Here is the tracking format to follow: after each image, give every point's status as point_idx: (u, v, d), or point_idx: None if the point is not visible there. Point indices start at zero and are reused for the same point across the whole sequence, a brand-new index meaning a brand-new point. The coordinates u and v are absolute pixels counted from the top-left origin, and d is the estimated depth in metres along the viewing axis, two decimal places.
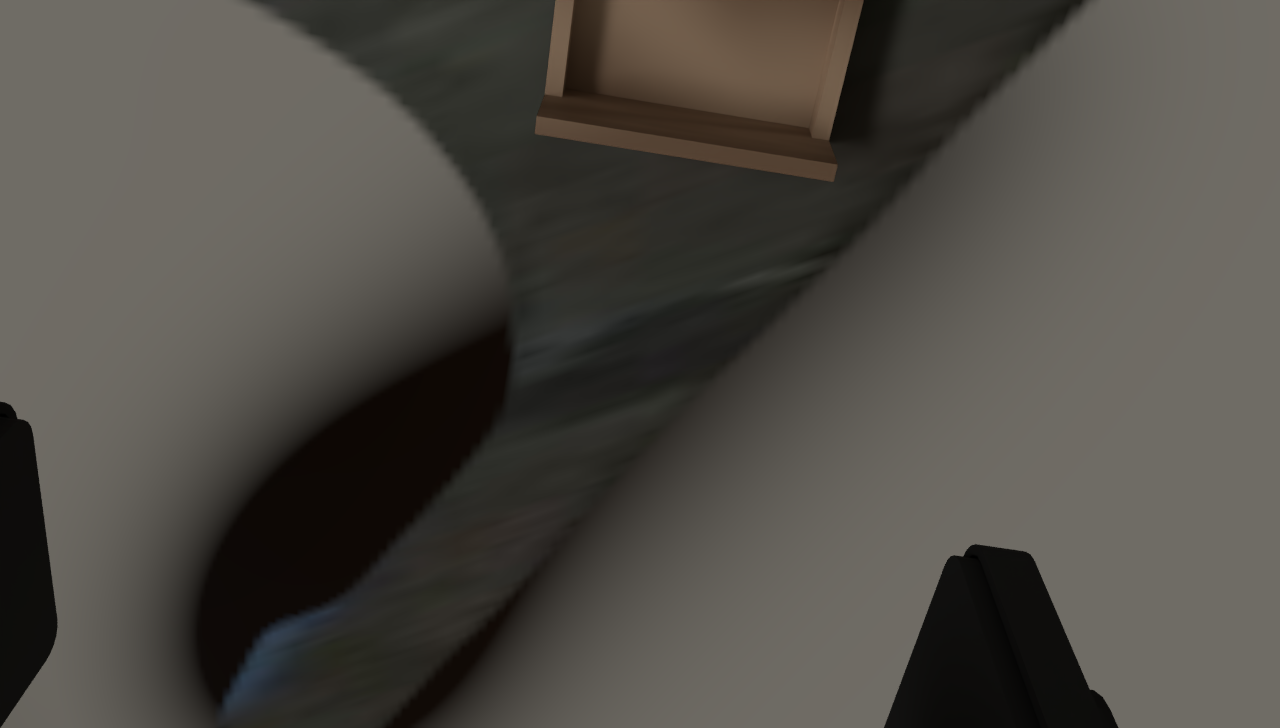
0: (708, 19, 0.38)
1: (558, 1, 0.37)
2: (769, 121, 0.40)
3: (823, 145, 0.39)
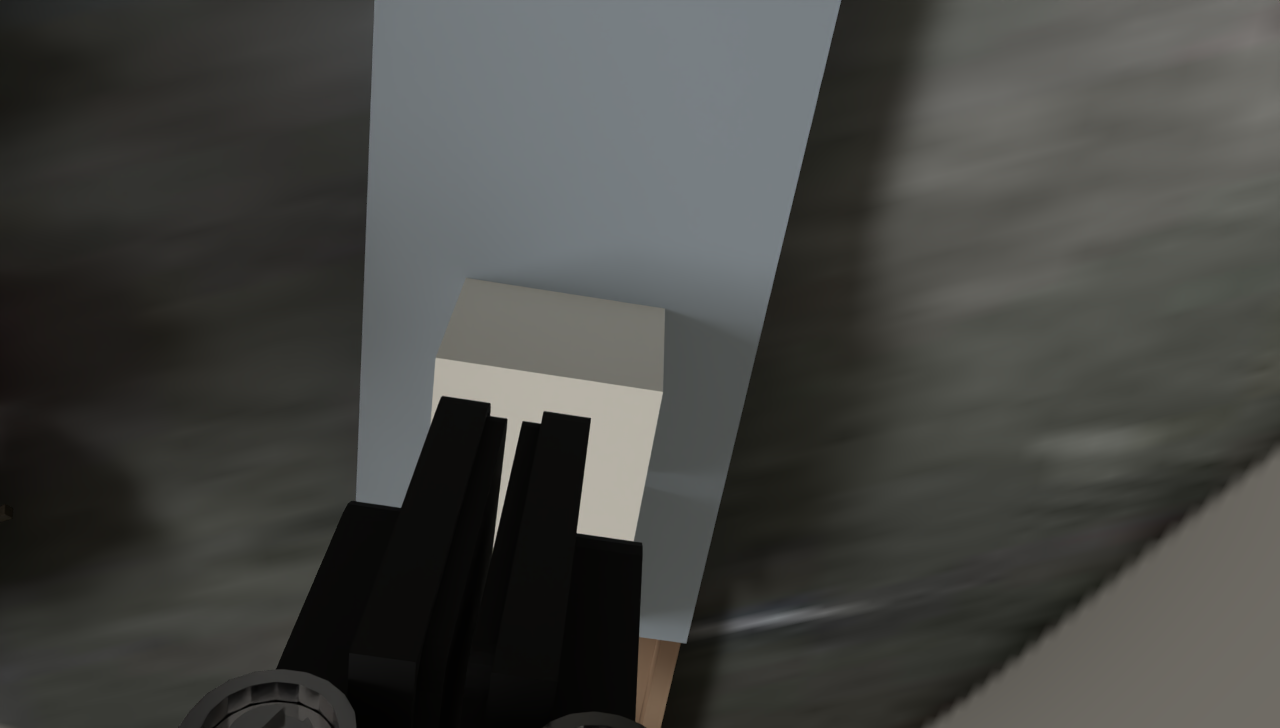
0: None
1: None
2: None
3: None
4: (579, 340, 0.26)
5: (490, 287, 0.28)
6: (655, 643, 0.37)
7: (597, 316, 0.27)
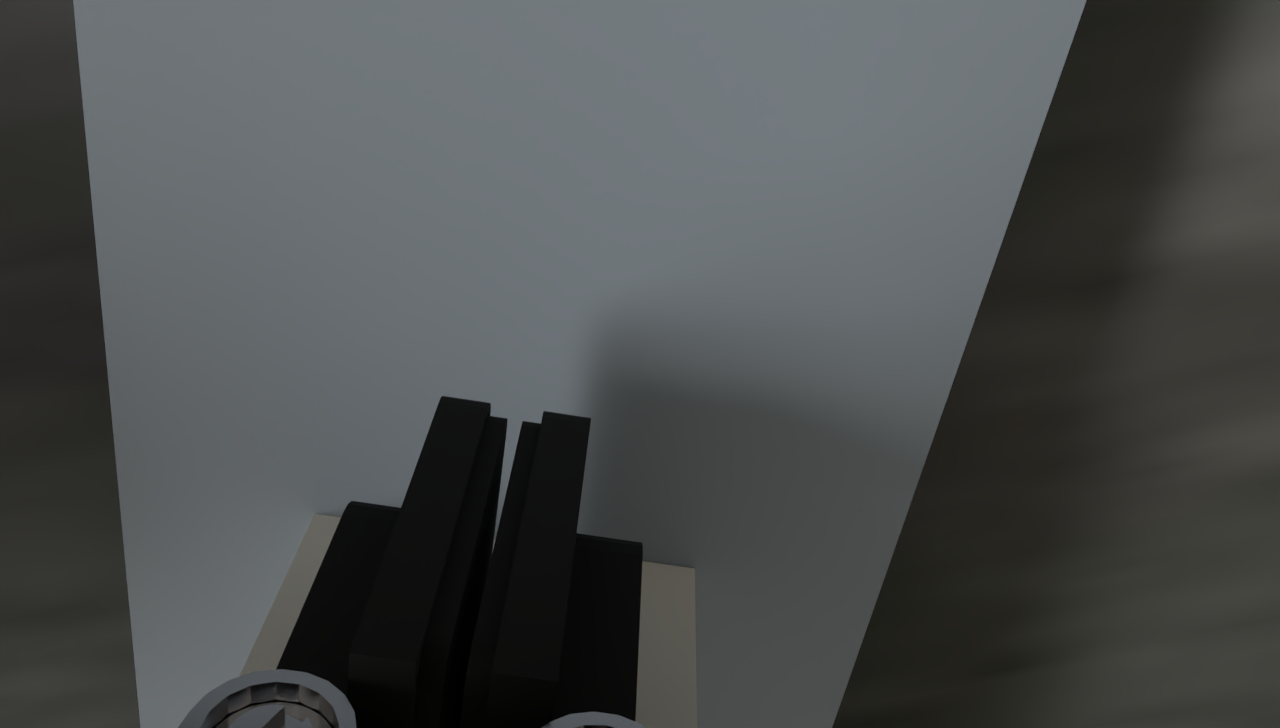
0: None
1: None
2: None
3: None
4: None
5: None
6: None
7: None
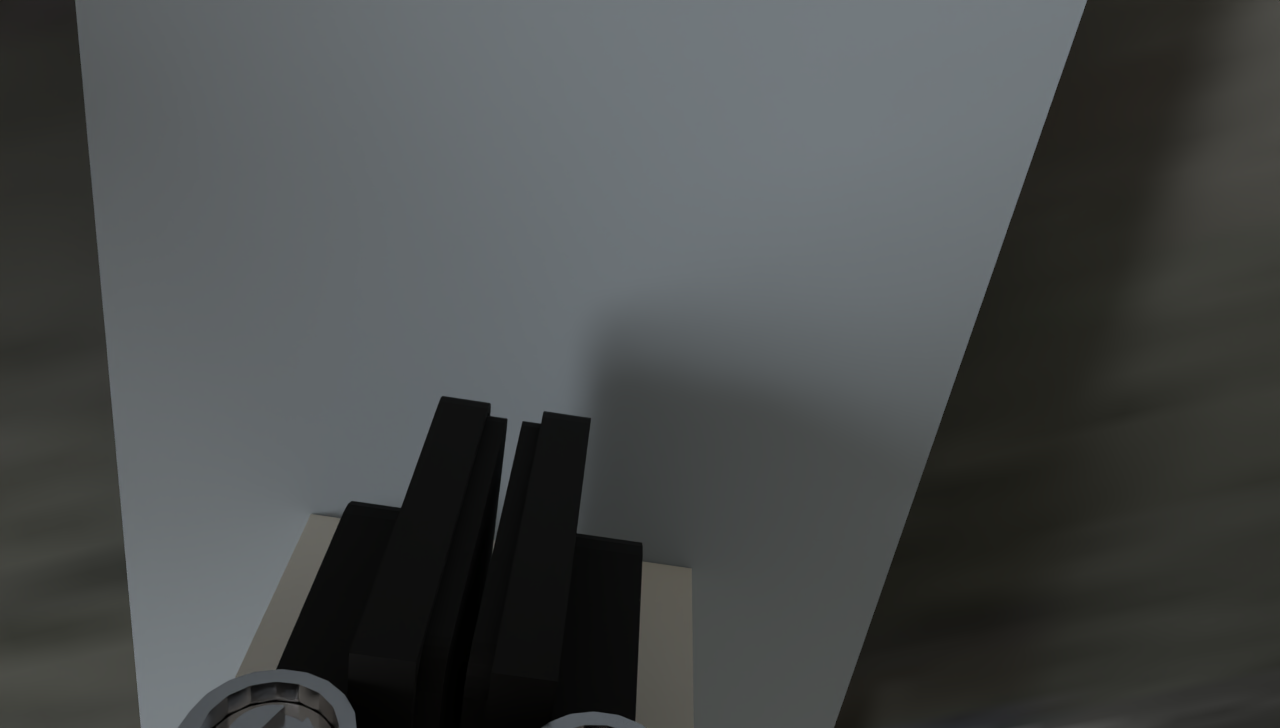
0: None
1: None
2: None
3: None
4: None
5: None
6: None
7: None
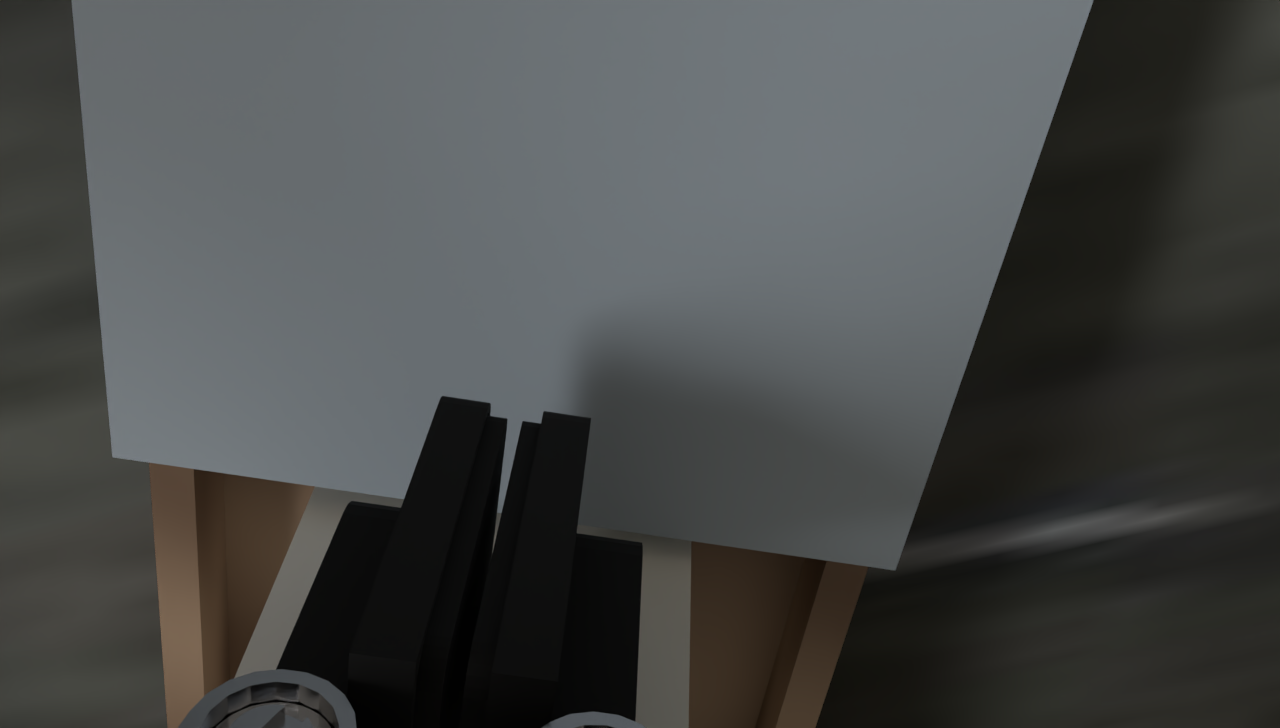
0: None
1: None
2: None
3: None
4: None
5: None
6: (794, 584, 0.17)
7: None
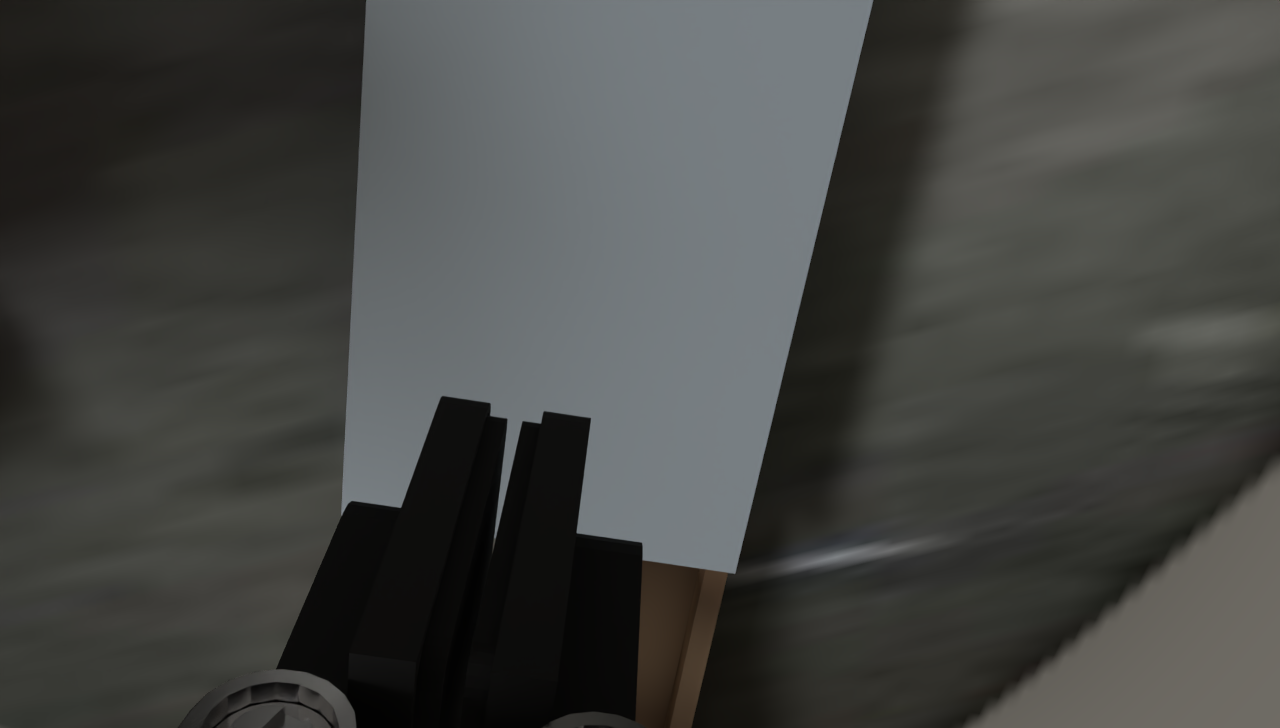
0: None
1: None
2: None
3: None
4: None
5: None
6: (693, 587, 0.31)
7: None
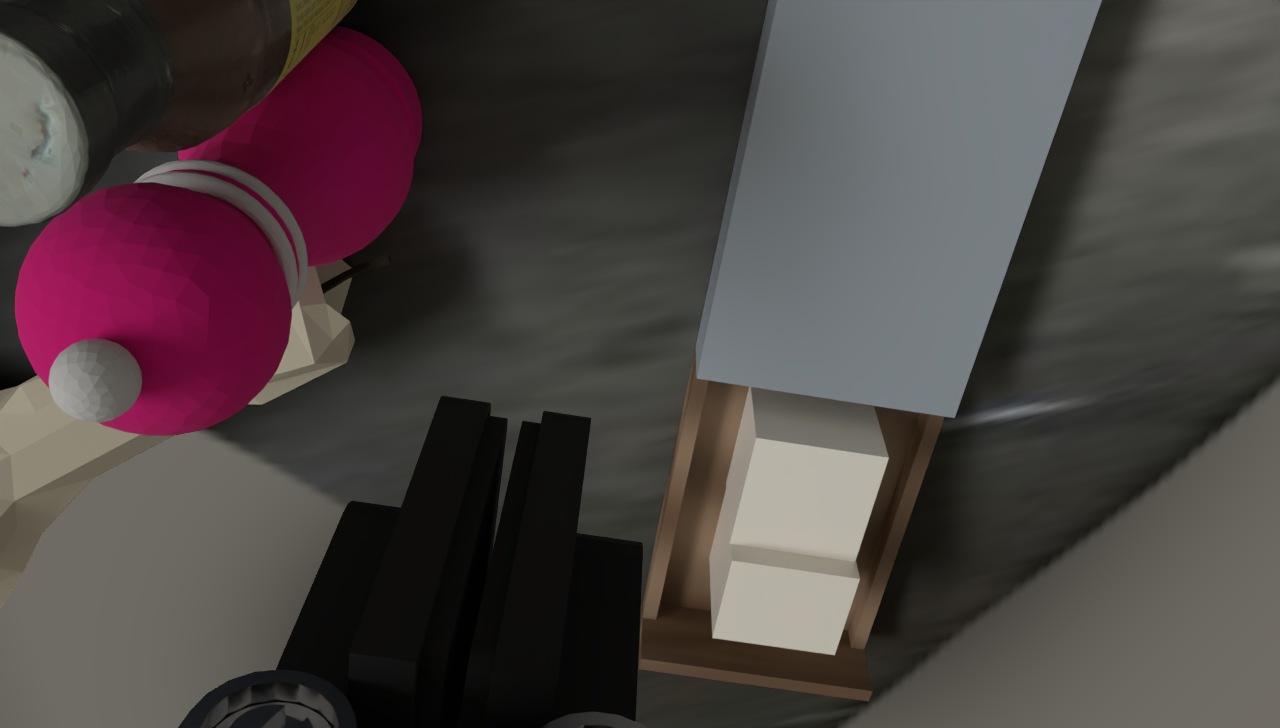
0: None
1: (656, 562, 0.48)
2: None
3: (860, 659, 0.50)
4: (831, 424, 0.43)
5: (767, 389, 0.45)
6: (912, 432, 0.46)
7: (835, 408, 0.44)
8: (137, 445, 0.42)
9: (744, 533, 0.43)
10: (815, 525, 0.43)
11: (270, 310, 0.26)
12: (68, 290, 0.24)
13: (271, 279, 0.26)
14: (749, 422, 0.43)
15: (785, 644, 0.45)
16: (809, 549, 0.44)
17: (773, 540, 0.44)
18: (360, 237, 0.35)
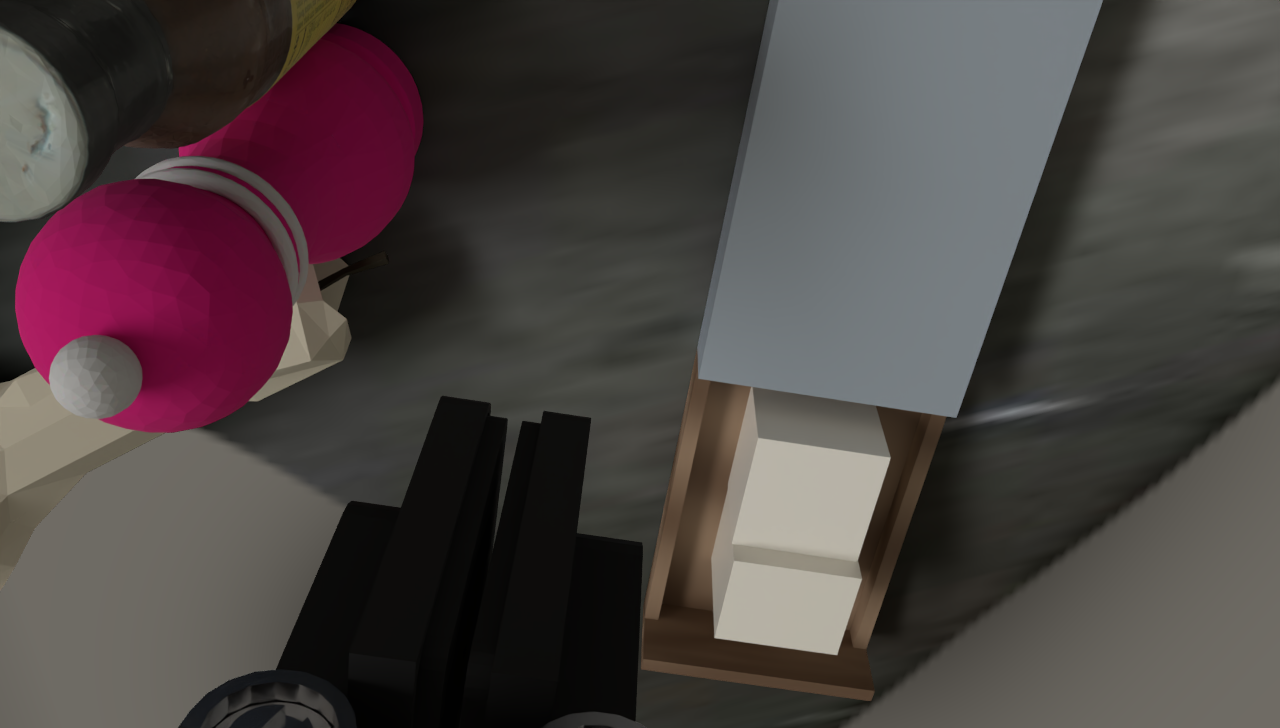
0: None
1: (658, 563, 0.48)
2: None
3: (862, 659, 0.50)
4: (832, 424, 0.43)
5: (769, 389, 0.45)
6: (914, 432, 0.46)
7: (837, 408, 0.44)
8: (131, 440, 0.42)
9: (746, 533, 0.44)
10: (817, 525, 0.43)
11: (271, 307, 0.26)
12: (69, 287, 0.24)
13: (271, 275, 0.26)
14: (751, 422, 0.43)
15: (787, 644, 0.45)
16: (811, 549, 0.44)
17: (775, 540, 0.44)
18: (361, 234, 0.35)
